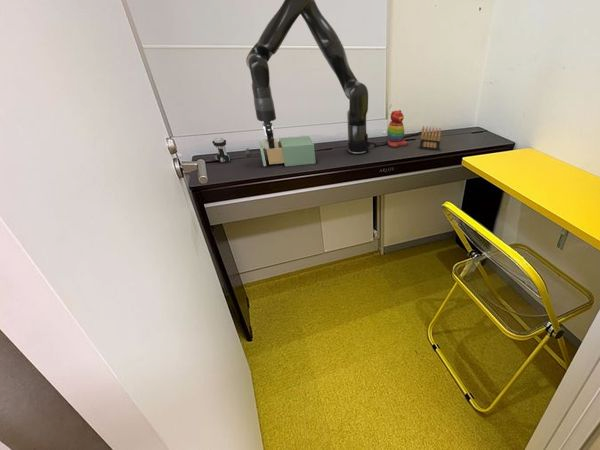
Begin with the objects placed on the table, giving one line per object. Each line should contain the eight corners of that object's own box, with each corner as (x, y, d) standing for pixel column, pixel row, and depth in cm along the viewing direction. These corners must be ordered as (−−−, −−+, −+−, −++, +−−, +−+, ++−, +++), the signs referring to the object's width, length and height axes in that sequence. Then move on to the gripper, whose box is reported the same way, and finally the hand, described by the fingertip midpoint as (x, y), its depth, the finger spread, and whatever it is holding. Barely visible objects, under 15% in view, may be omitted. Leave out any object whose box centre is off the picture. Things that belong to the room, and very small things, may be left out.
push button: (212, 162, 138) (205, 140, 133) (219, 157, 143) (214, 136, 137) (226, 163, 138) (220, 141, 132) (233, 159, 142) (228, 137, 137)
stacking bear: (392, 148, 167) (394, 114, 157) (382, 142, 174) (383, 109, 164) (408, 145, 173) (411, 112, 163) (398, 139, 179) (400, 107, 169)
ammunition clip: (439, 149, 170) (442, 127, 163) (439, 150, 168) (442, 128, 162) (419, 147, 171) (421, 125, 164) (419, 148, 169) (421, 126, 163)
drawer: (248, 167, 133) (245, 151, 129) (247, 158, 142) (244, 143, 138) (293, 163, 140) (291, 147, 136) (289, 154, 148) (287, 139, 144)
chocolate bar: (277, 145, 141) (276, 138, 139) (278, 148, 137) (277, 141, 136) (264, 146, 139) (263, 139, 137) (265, 149, 135) (264, 142, 134)
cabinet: (285, 166, 139) (282, 146, 134) (282, 156, 148) (279, 138, 143) (315, 163, 144) (313, 144, 139) (311, 154, 153) (309, 135, 148)
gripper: (276, 111, 125) (282, 152, 134) (272, 103, 135) (278, 141, 145) (255, 112, 122) (263, 154, 131) (254, 104, 133) (261, 143, 142)
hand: (271, 147), depth 138 cm, fingers closed on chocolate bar, 4 cm apart
